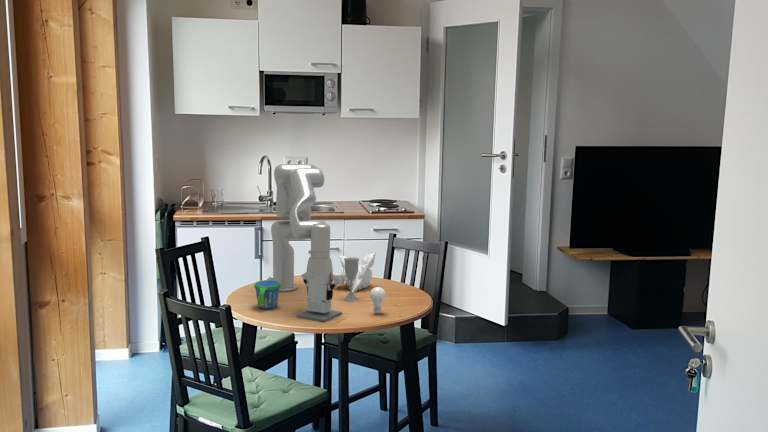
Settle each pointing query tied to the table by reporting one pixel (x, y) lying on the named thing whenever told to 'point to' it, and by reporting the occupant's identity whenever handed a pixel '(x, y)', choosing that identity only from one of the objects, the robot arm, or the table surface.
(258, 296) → the snack cup
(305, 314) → the charcoal mat
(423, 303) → the table surface
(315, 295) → the skincare box
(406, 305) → the table surface
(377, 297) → the lightbulb
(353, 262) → the chalice
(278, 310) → the table surface
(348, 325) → the table surface
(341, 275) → the white bumpy sculpture
